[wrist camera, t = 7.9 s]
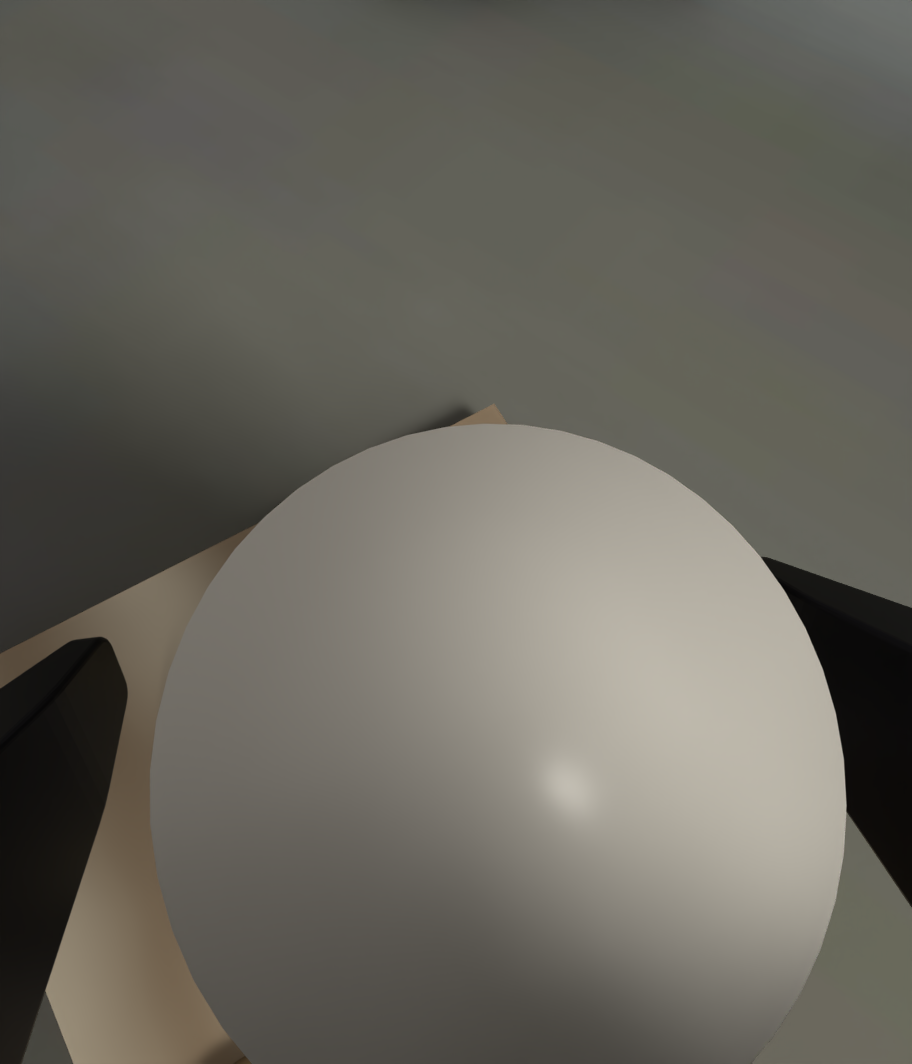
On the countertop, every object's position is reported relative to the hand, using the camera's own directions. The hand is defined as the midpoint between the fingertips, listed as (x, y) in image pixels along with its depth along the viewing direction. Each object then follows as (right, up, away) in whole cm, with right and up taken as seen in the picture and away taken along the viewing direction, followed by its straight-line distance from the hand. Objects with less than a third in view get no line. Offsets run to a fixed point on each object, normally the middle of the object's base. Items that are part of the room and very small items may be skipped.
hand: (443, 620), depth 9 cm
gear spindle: (-1, -4, +7) cm, 8 cm away
